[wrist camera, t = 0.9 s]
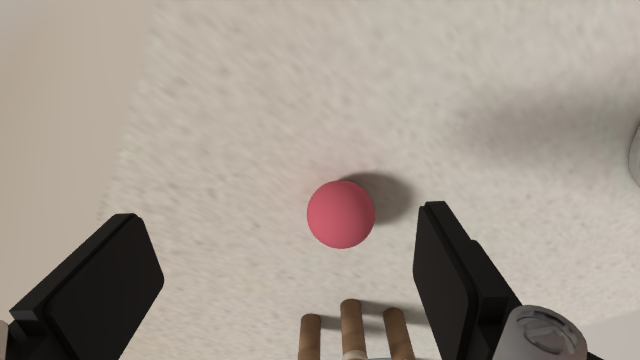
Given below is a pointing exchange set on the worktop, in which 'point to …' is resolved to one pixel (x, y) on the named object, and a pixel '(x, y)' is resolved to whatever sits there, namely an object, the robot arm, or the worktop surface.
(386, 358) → the bar
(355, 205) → the ball
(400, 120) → the worktop surface
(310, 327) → the pin
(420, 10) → the worktop surface
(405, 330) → the pin
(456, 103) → the worktop surface
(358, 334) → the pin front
